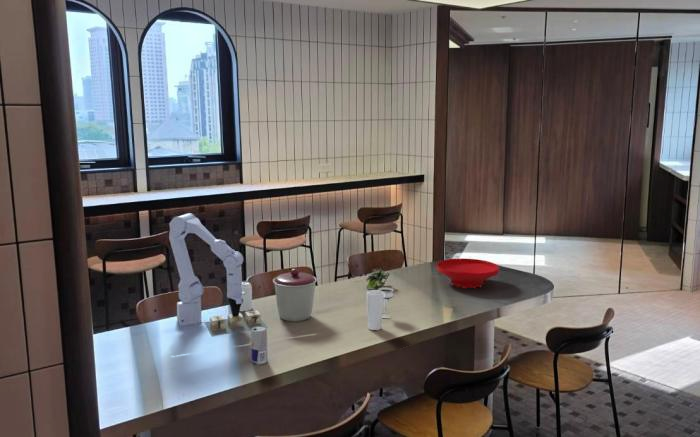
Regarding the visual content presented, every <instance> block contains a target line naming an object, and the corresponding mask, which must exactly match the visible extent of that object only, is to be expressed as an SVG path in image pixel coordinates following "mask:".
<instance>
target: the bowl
mask: <svg viewBox="0 0 700 437" xmlns="http://www.w3.org/2000/svg"><path fill="white" fill-rule="evenodd" d="M436 270H437V272H439V273H440V274H442V275H445V276H446V277H448V278H449V279H450V284H451V283H452V284H453V285H455V286H458V287H457V288H459V287H465V288H464V289H467V288H474V287H480V286H482V285H483V286H484V281H486V280H487V279H490V278H491V277H495V276H497V275H498V274H499V272H500V266H499V265H498V264H496V263H494V262H491V261H488V260H483V259H477V258H448V259H444V260H443V259H442V260H440V261H438V262H437V263H436ZM452 284H451V285H452ZM453 285H452V286H453ZM455 286H454V287H455ZM483 286H482V287H483ZM480 288H481V287H480ZM474 289H475V288H474Z"/></svg>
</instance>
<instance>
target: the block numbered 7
mask: <svg viewBox="0 0 700 437" xmlns="http://www.w3.org/2000/svg"><path fill="white" fill-rule="evenodd" d="M244 317H245V322H246V323H247V324H248V326H249V325H256V324H261V320H262V319H261V313H260V312H259V310H249V311H244ZM260 319H261V320H260Z"/></svg>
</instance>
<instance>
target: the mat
mask: <svg viewBox="0 0 700 437" xmlns="http://www.w3.org/2000/svg"><path fill="white" fill-rule="evenodd" d="M260 320H261V324H256V325H249V326H248V324H247V323H246V322H245V316H243V326H242V327H235V328H230V326H229V324H228V318H225V322H226V329H221V330H214V331H213V330H212V328H211V326H210V321H204V322H203V323H204V325H205V327H206V329H207V331H208V332H209V334H210V336H211V337H217V336H223V335H230V334H237V333H243V332H244V333H245V332H251V329H252V328H253V327H255V326H264V327H266V329H268V328H269V327H268V325H266V323H265V322H264V321H263V320H262V318H260Z"/></svg>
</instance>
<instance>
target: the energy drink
mask: <svg viewBox="0 0 700 437" xmlns="http://www.w3.org/2000/svg"><path fill="white" fill-rule="evenodd" d="M250 346H251V347H250V349H251V350H250V351H251V353H250V354H251V357H250V358H251V363H252V364H253V365H255V364H256V366H262V365H265V364H266V363H267V362H268V330H267V328H266V327H264V326H255V327H253V328H252V329H251V331H250Z"/></svg>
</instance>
